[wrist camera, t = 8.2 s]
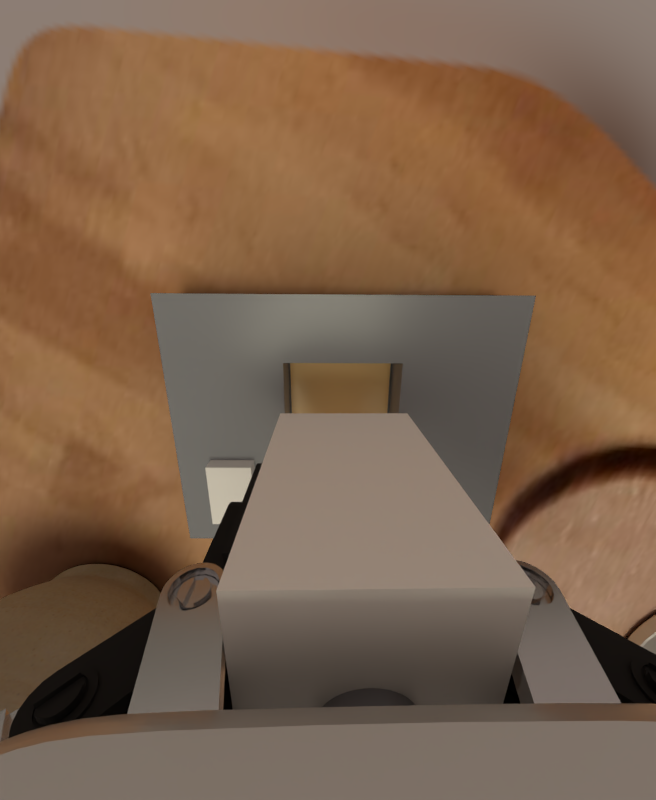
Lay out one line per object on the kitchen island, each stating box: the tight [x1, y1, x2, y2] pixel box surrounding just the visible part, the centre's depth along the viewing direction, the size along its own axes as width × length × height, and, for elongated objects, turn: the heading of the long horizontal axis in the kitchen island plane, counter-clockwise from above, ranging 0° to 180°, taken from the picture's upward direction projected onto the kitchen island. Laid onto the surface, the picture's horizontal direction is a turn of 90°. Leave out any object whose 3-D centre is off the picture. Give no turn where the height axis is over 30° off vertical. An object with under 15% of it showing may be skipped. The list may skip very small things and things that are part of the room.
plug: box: [216, 413, 536, 710], centre depth 8 cm, size 4×6×9 cm
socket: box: [151, 293, 536, 538], centre depth 18 cm, size 18×14×4 cm
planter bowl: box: [0, 564, 160, 714], centre depth 20 cm, size 16×16×11 cm
